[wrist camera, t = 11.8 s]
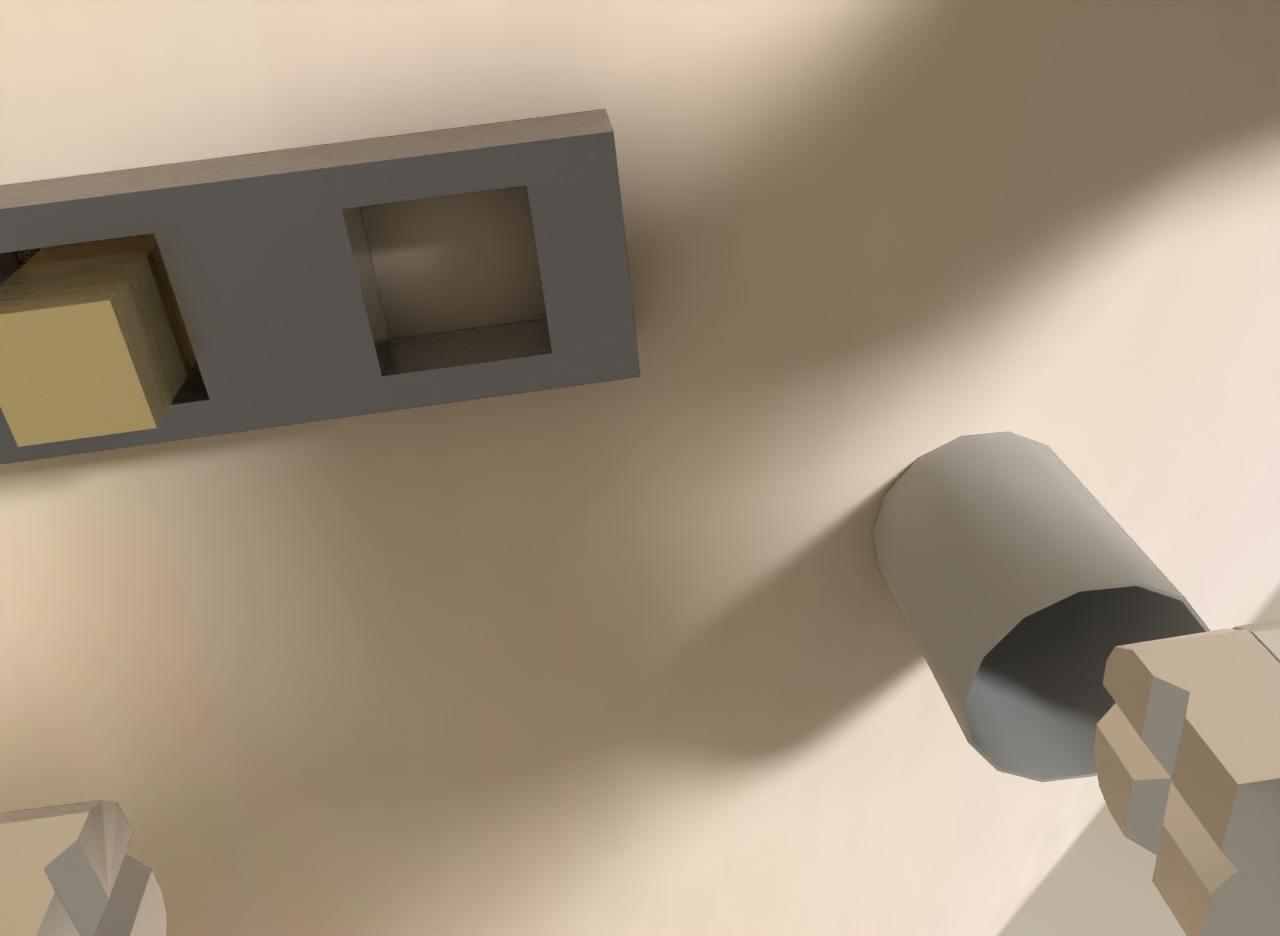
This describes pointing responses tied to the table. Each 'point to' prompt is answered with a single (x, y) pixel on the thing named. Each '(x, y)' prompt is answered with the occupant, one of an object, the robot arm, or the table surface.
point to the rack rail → (347, 273)
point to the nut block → (90, 342)
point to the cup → (1019, 597)
